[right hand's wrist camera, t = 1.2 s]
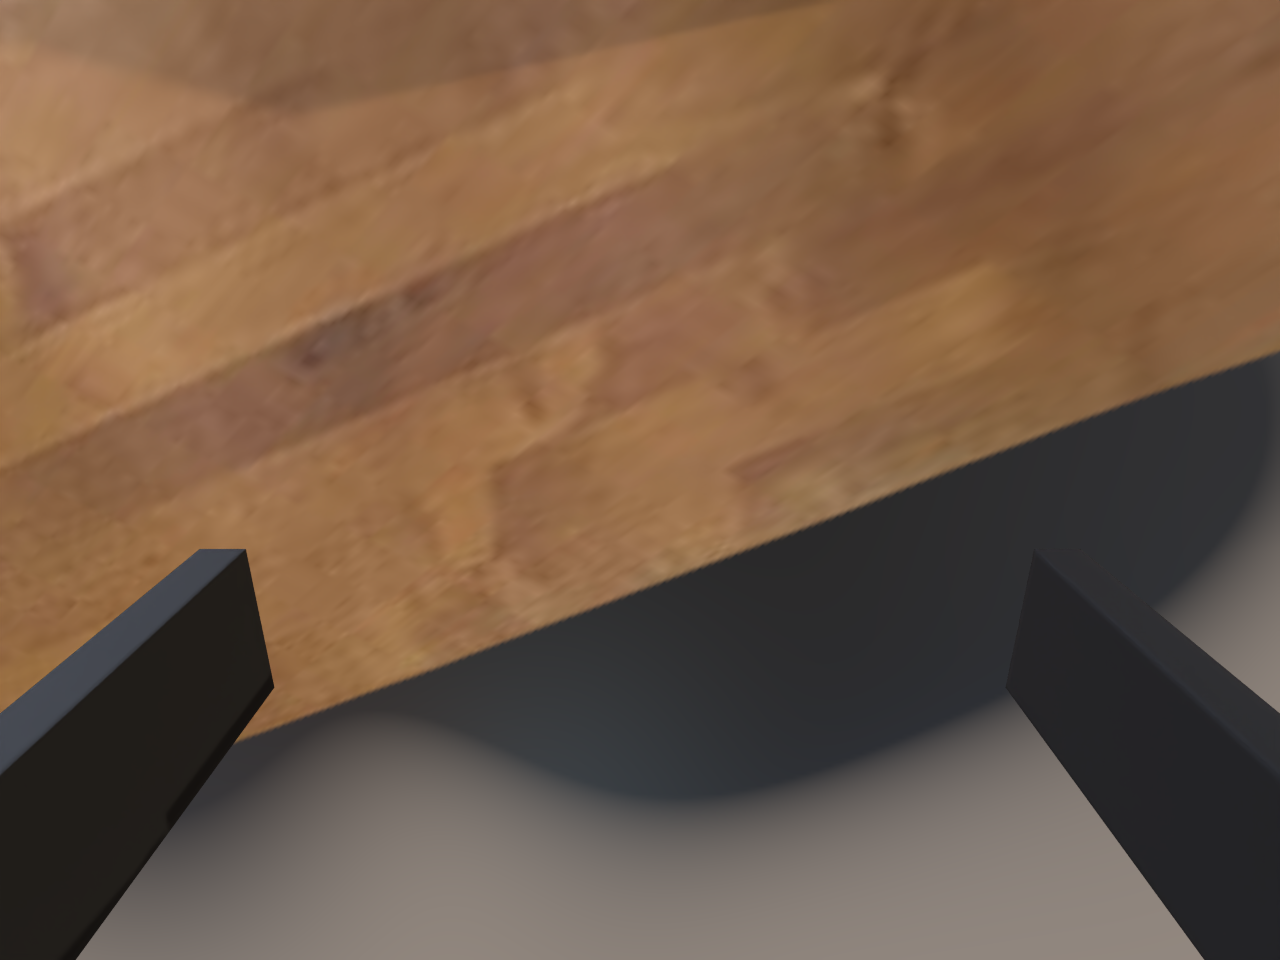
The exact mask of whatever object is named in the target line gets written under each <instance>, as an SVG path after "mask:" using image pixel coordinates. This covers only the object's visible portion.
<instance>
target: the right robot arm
mask: <svg viewBox="0 0 1280 960" xmlns="http://www.w3.org/2000/svg"><path fill="white" fill-rule="evenodd" d="M273 689H274V684H273V679H272V674H271V669H270V664H269V659H268V655H267V650H266V645H265V640H264V635H263V630H262V626H261V621H260V616H259V611H258V606H257V601H256V596H255V592H254V587H253V582H252V577H251V572H250V567H249V563H248V558H247V553H246V549H199V550H198V551H197V552H196V553H194V554H193V555H192V556H191V557H190V558H188V559H187V560H186V561H185V562H183V563H182V564H181V565H180V566H179V567H177V568H176V569H175V570H174V571H173V572H171V573H170V574H169V575H168V576H166V577H165V578H164V579H163V580H162V581H160V582H159V583H158V584H157V585H156V586H154V587H153V588H152V589H151V590H149V591H148V592H147V593H146V594H145V595H143V596H142V597H141V598H140V599H139V600H137V601H136V602H135V603H134V604H133V605H131V606H130V607H129V608H128V609H126V610H125V611H124V612H123V613H122V614H120V615H119V616H118V617H117V618H116V619H114V620H113V621H112V622H111V623H109V624H108V625H107V626H106V627H105V628H103V629H102V630H101V631H100V632H99V633H97V634H96V635H95V636H94V637H92V638H91V639H90V640H89V641H88V642H86V643H85V644H84V645H83V646H82V647H80V648H79V649H78V650H77V651H75V652H74V653H73V654H72V655H71V656H69V657H68V658H67V659H66V660H65V661H63V662H62V663H61V664H60V665H59V666H57V667H56V668H55V669H54V670H52V671H51V672H50V673H49V674H48V675H46V676H45V677H44V678H43V679H42V680H40V681H39V682H38V683H37V684H35V685H34V686H33V687H32V688H31V689H29V690H28V691H27V692H26V693H25V694H23V695H22V696H21V697H20V698H18V699H17V700H16V701H15V702H14V703H12V704H11V705H10V706H9V707H8V708H6V709H5V710H4V711H3V712H1V713H0V960H76V959H77V957H78V956H79V954H80V953H81V952H82V950H83V949H84V948H85V946H86V945H87V944H88V942H89V941H90V939H91V938H92V937H93V935H94V934H95V932H96V931H97V930H98V928H99V927H100V926H101V924H102V923H103V922H104V920H105V919H106V917H107V916H108V915H109V913H110V912H111V911H112V909H113V908H114V907H115V905H116V904H117V902H118V901H119V900H120V898H121V897H122V896H123V894H124V893H125V891H126V890H127V889H128V887H129V886H130V884H131V883H132V882H133V880H134V879H135V878H136V876H137V875H138V874H139V872H140V871H141V869H142V868H143V867H144V865H145V864H146V863H147V861H148V860H149V859H150V857H151V856H152V854H153V853H154V852H155V850H156V849H157V848H158V846H159V845H160V843H161V842H162V841H163V839H164V838H165V837H166V835H167V834H168V832H169V831H170V830H171V828H172V827H173V826H174V824H175V823H176V821H177V820H178V819H179V817H180V816H181V815H182V813H183V812H184V811H185V809H186V808H187V806H188V805H189V804H190V802H191V801H192V800H193V798H194V797H195V795H196V794H197V793H198V791H199V790H200V789H201V787H202V786H203V785H204V783H205V782H206V780H207V779H208V778H209V776H210V775H211V774H212V772H213V771H214V769H215V768H216V767H217V765H218V764H219V762H220V761H221V760H222V758H223V757H224V756H225V754H226V753H227V752H228V750H229V749H230V747H231V746H232V745H233V743H234V742H235V741H236V739H237V738H238V737H239V735H240V734H241V732H242V731H243V730H244V728H245V727H246V726H247V724H248V723H249V721H250V720H251V719H252V717H253V716H254V715H255V713H256V712H257V710H258V709H259V708H260V706H261V705H262V704H263V702H264V701H265V700H266V698H267V697H268V695H269V694H270V693H271V691H272V690H273ZM1006 689H1007V690H1008V691H1009V693H1010V694H1011V695H1012V697H1013V698H1014V699H1015V701H1016V702H1017V704H1018V705H1019V706H1020V708H1021V709H1022V710H1023V712H1024V713H1025V715H1026V716H1027V717H1028V719H1029V720H1030V721H1031V723H1032V724H1033V726H1034V727H1035V728H1036V730H1037V731H1038V732H1039V734H1040V735H1041V737H1042V738H1043V739H1044V741H1045V742H1046V743H1047V745H1048V746H1049V748H1050V749H1051V750H1052V752H1053V753H1054V754H1055V756H1056V757H1057V758H1058V760H1059V761H1060V763H1061V764H1062V765H1063V767H1064V768H1065V769H1066V771H1067V772H1068V773H1069V775H1070V776H1071V778H1072V779H1073V780H1074V782H1075V783H1076V784H1077V786H1078V787H1079V788H1080V790H1081V791H1082V793H1083V794H1084V795H1085V797H1086V798H1087V800H1088V801H1089V802H1090V804H1091V805H1092V806H1093V808H1094V809H1095V810H1096V812H1097V813H1098V815H1099V816H1100V817H1101V819H1102V820H1103V822H1104V823H1105V824H1106V826H1107V827H1108V828H1109V830H1110V831H1111V832H1112V834H1113V835H1114V837H1115V838H1116V839H1117V841H1118V842H1119V843H1120V845H1121V846H1122V848H1123V849H1124V850H1125V852H1126V853H1127V854H1128V856H1129V857H1130V859H1131V860H1132V861H1133V863H1134V864H1135V865H1136V867H1137V868H1138V870H1139V871H1140V872H1141V874H1142V875H1143V876H1144V878H1145V879H1146V880H1147V882H1148V883H1149V885H1150V886H1151V887H1152V889H1153V890H1154V891H1155V893H1156V894H1157V895H1158V897H1159V898H1160V900H1161V901H1162V902H1163V904H1164V905H1165V907H1166V908H1167V909H1168V911H1169V912H1170V913H1171V915H1172V916H1173V917H1174V919H1175V920H1176V922H1177V923H1178V924H1179V926H1180V927H1181V928H1182V930H1183V931H1184V933H1185V934H1186V935H1187V937H1188V938H1189V939H1190V941H1191V942H1192V944H1193V945H1194V946H1195V948H1196V949H1197V950H1198V952H1199V953H1200V954H1201V956H1202V957H1203V959H1204V960H1280V713H1279V712H1277V711H1276V710H1275V709H1274V708H1272V707H1271V706H1270V705H1269V704H1268V703H1266V702H1265V701H1264V700H1263V699H1261V698H1260V697H1259V696H1258V695H1257V694H1255V693H1254V692H1253V691H1252V690H1251V689H1249V688H1248V687H1247V686H1246V685H1245V684H1243V683H1242V682H1241V681H1240V680H1238V679H1237V678H1236V677H1235V676H1234V675H1232V674H1231V673H1230V672H1229V671H1228V670H1226V669H1225V668H1224V667H1223V666H1221V665H1220V664H1219V663H1218V662H1217V661H1215V660H1214V659H1213V658H1212V657H1211V656H1209V655H1208V654H1207V653H1206V652H1204V651H1203V650H1202V649H1201V648H1200V647H1198V646H1197V645H1196V644H1195V643H1194V642H1192V641H1191V640H1190V639H1189V638H1188V637H1186V636H1185V635H1184V634H1183V633H1181V632H1180V631H1179V630H1178V629H1177V628H1175V627H1174V626H1173V625H1172V624H1170V623H1169V622H1168V621H1167V620H1166V619H1164V618H1163V617H1162V616H1161V615H1160V614H1158V613H1157V612H1156V611H1155V610H1154V609H1152V608H1151V607H1150V606H1149V605H1147V604H1146V603H1145V602H1144V601H1143V600H1141V599H1140V598H1139V597H1138V596H1137V595H1135V594H1134V593H1133V592H1132V591H1131V590H1129V589H1128V588H1127V587H1126V586H1124V585H1123V584H1122V583H1121V582H1120V581H1118V580H1117V579H1116V578H1115V577H1113V576H1112V575H1111V574H1110V573H1109V572H1107V571H1106V570H1105V569H1104V568H1103V567H1101V566H1100V565H1099V564H1098V563H1097V562H1095V561H1094V560H1093V559H1092V558H1090V557H1089V556H1088V555H1087V554H1086V553H1084V552H1083V551H1082V550H1081V549H1034V553H1033V558H1032V563H1031V567H1030V572H1029V577H1028V582H1027V587H1026V592H1025V597H1024V601H1023V606H1022V611H1021V616H1020V621H1019V626H1018V630H1017V635H1016V640H1015V645H1014V650H1013V655H1012V659H1011V664H1010V669H1009V674H1008V679H1007V684H1006Z"/></svg>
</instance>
